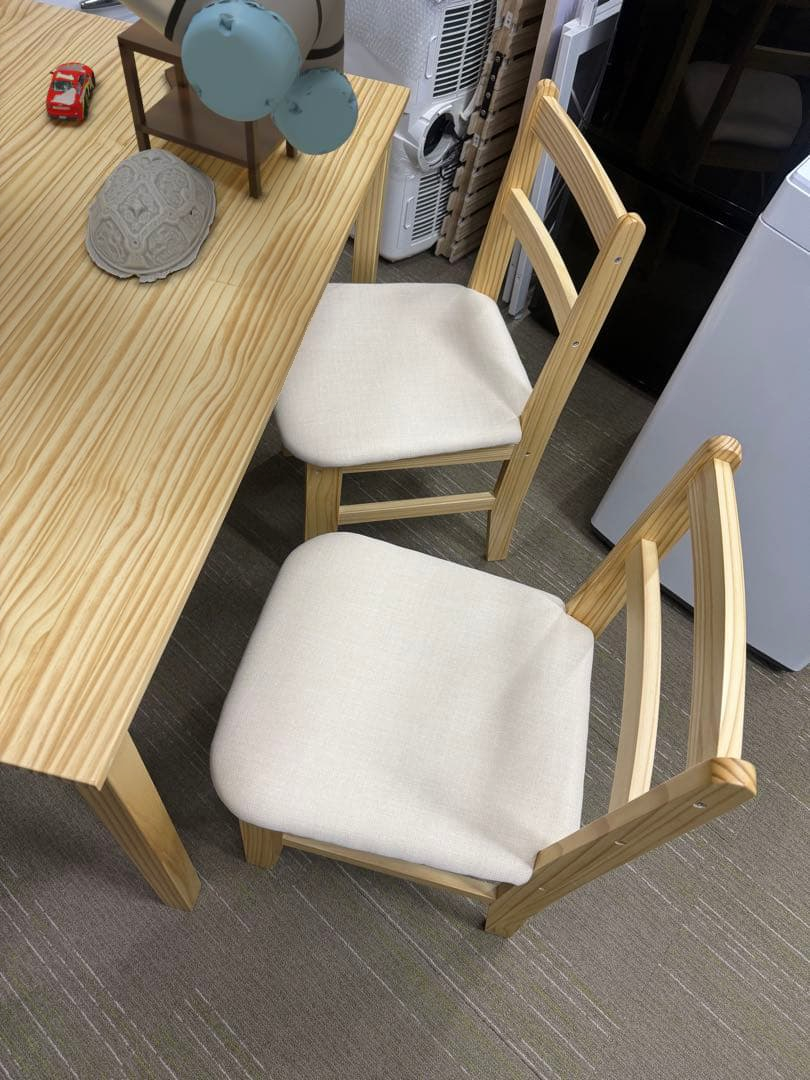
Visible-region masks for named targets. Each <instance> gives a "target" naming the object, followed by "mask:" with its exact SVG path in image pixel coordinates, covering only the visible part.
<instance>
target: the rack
mask: <svg viewBox="0 0 810 1080" xmlns="http://www.w3.org/2000/svg"><path fill="white" fill-rule="evenodd" d="M116 39H117V45H118V51H119V55H120V61H121V66H122V71H123V76H124V81H125V87H126V91H127V96H128V102H129V106H130V113H131V117H132V122H133V128H134V132H135V137H136V142H137V148H138V153H139V152H142V151H146V150H151V149H152V146H151V139H150V136H152V137H156V138H157V139H158V138H159V139H161V140H164V141H167V142H169V143H173V144H175V145H178V146H181V147H183V148H187V149H190V150H192V151H195V152H198V153H201V154H205V155H207V156H210V157H212V158H214V159H215V158H216V159H219V160H220V161H221V160H222V161H224V162H227V163H230V164H233V165H236V166H239V167H241V168H245V169H247V175H248V189H249V197H251V198H253V199H255V200H259V198H260V197H262V194H263V193H262V176H261V174H262V173H261V167H262V166H263V165H264V164H265V162H266V161H268V159H269V158H270V157H271V156H272V155H273V154H274V153H275V152H276V151H277V150H278V148H279V147H280V146H281V145H282V144H284V142H285V156H286V157H287V158H291V159H292V160H293V159H295V158H296V157H297V156H298V150H297V149H295V148H294V147H293V146H292V145H291V144H290V143H289V142H288V140H287V139H286V138H285V137H284V135H283V134H282V133H281V132H280V131H279V130H278V129H277V128H276V126H275V125H274V123H273V122H274V121H272V118H271V116H270V114H267V115H266V116H264V117H262V118H260V119H257V120H254V121H236V120H231V119H228V118H225V117H223V116H221V115H219V114H217V113H215V112H214V111H212V110H211V109H210V108H208V107H207V106H206V105H205V104H204V103H203V102H202V101H201V100H200V99H199V96H198V94H197V93H196V92H195V90H194V89H193V87H192V85H190V84H188V80H187V77H186V75H185V72H184V69H183V64H182V56H181V51H182V50H180V49H179V48H178V47H177V46H176V45H174V44H173V43H172V42H171V41H169V40H168V39H167V38H166V37H164V36H163V35H162V34H160V33H159V32H158V31H157V30H155V29H154V28H153V27H151V26H150V25H149V24H147V23H146V22H145V21H144V20H142V19H141V18H139V19H138V20H137V21H135V22H134V23H132V24H131V25H130V26H128V27H127V28H125V29H124V30H123V31H122V32H120V33H119V34H117V35H116ZM135 53H138V54H140V55H143V56H146V57H149V58H152V59H155V60H158V61H161V62H165V63H168V64H170V65H172V66H174V68H175V75H176V83H177V86H175V87H174V88H173V89H172V90H171V89H170V91H168V92H167V93H166V94H165V95H164V96H163V97H161V98H160V99H159V100H158V101H157V102H156V103H154V104H153V105H152V106H151V107H150V108H149V109H147V110H146V111H145V106H144V102H143V96H142V91H141V84H140V79H139V74H138V69H137V63H136V57H135Z"/></svg>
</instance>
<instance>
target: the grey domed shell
mask: <svg viewBox="0 0 810 1080" xmlns="http://www.w3.org/2000/svg"><path fill="white" fill-rule="evenodd" d="M216 197H217V196H216V195H215V184H214V181H213V180H212V179H211V177H210V176H209V175H208V174H207V173H206V172H204V171H203V170H202V169H201V168H199V167H197V166H195V165H193V164H190V163H188V162H186V161H184V160H182V159H181V158H179V157H178V156H177V155H175V154H173V153H171V151H169V150H167V149H166V150H165V149H162V148H151V150H146V151H142V152H139V151H138V152H137V153H134V154H132V155H130V156H128V157H126V158H124V159H123V160H121V161H120V162H119V163H118V164H117V166H115V167H114V169H113V170H112V172H111V173H110V174H109V175H108V176H107V178H106V179H105V183H104V185H103V187H102V188H101V190H100V192H99V193H98V194H97V196H96V198H95V199H94V201H93V202H91V203H90V205H89V207H88V209H87V211H88V212H89V218H88V219H89V220H88V222H87V230H86V231H87V232H86V234H87V236H86V238H85V241H84V243H85V247H86V252H88V253H89V257H90V258H91V261H92V262H94V263H95V264H96V266H98V267H99V268H100V269H102V270H104V271H106V272H107V273H109V274H111V275H114V276H117V277H118V278H120V279H122V278H124V279H126V278H129V277H132V276H133V275H135V276H136V277H138V278H139V280H138V283H147V282H148V283H151V282H155V281H156V280H157V279H165V278H166V277H167V276H168V275H169V273H173V272H177V271H178V270H179V271H180V270H181V269H184V268H187V267H188V266H189V265H190V264H191V263H192V262H194V261H195V260H196V259H197V255H198V253H199V250H200V248H201V246H202V245H203V243H204V241H205V239H206V238H207V236H208V235H209V234H210V225H212V224H213V222H214V218H215V213H216V202H217V201H216Z"/></svg>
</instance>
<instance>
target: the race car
mask: <svg viewBox="0 0 810 1080" xmlns="http://www.w3.org/2000/svg"><path fill="white" fill-rule="evenodd" d="M49 74H50V75H52V76H51V81H50V85H49V88H48V91H47V94H46V98H45V108H46V112H47V117H48V118H49V119H50V120H53V121H56V122H57V121H60V122H61V121H62V122H74V123H75V122H80V121H82V120H84V119H85V118H86V117H88V109H89V108H90V107H89V106H90V103H91V99H92V95H93V92H94V89H95V87H96V77H95V71H94V70H93V69H92V68H91V67H90V66H88V65H86V64H84V63H81V62H66V63H62V64H60V65H58V66H57V67H56V68H55V70H54V71H51V70H50V71H49Z"/></svg>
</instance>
